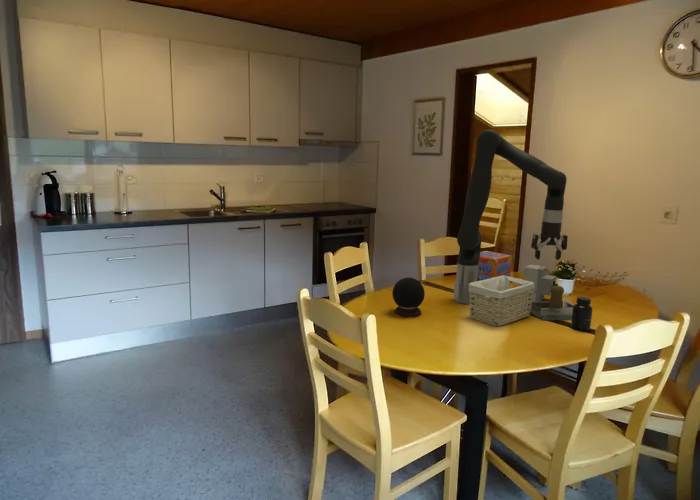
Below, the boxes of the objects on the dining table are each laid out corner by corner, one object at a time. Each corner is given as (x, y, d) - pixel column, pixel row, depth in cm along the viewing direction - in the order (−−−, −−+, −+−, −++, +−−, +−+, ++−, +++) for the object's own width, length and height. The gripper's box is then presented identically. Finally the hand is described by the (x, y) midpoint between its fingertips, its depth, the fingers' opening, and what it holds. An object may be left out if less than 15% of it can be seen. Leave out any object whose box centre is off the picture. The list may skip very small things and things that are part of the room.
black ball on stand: (398, 306, 215) (399, 272, 212) (427, 311, 209) (429, 276, 206) (386, 315, 203) (388, 279, 200) (417, 320, 198) (419, 283, 195)
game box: (510, 285, 254) (512, 255, 251) (493, 290, 243) (495, 259, 240) (483, 279, 265) (485, 250, 262) (466, 284, 255) (468, 254, 252)
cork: (547, 313, 204) (549, 287, 202) (547, 309, 210) (549, 283, 208) (563, 315, 202) (565, 288, 200) (562, 310, 207) (565, 285, 205)
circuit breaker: (553, 304, 221) (556, 271, 218) (521, 298, 230) (523, 266, 227) (557, 300, 227) (561, 268, 224) (526, 295, 236) (529, 264, 233)
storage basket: (498, 329, 189) (500, 291, 186) (464, 317, 202) (466, 282, 199) (533, 317, 204) (536, 282, 201) (500, 307, 216) (502, 274, 213)
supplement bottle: (589, 332, 186) (592, 301, 184) (569, 329, 190) (572, 298, 188) (591, 327, 192) (594, 297, 190) (572, 324, 196) (575, 294, 193)
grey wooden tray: (542, 320, 200) (543, 309, 199) (528, 311, 211) (529, 300, 210) (580, 319, 201) (581, 308, 201) (564, 310, 213) (565, 300, 212)
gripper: (539, 221, 200) (535, 261, 203) (573, 222, 201) (568, 261, 204) (531, 218, 207) (527, 257, 210) (563, 219, 208) (559, 257, 212)
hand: (547, 259), depth 207 cm, fingers open, 8 cm apart
